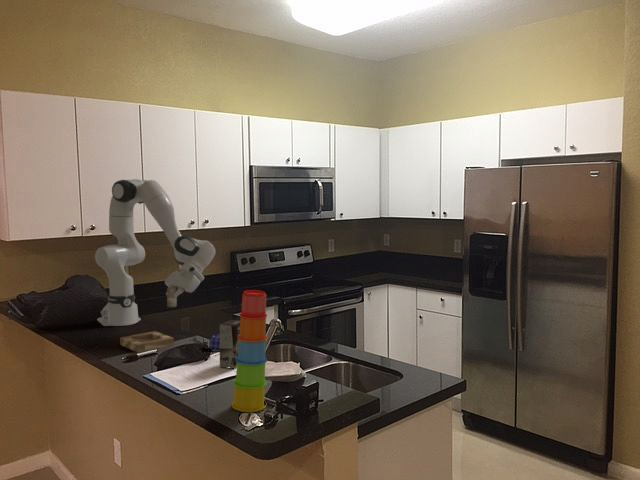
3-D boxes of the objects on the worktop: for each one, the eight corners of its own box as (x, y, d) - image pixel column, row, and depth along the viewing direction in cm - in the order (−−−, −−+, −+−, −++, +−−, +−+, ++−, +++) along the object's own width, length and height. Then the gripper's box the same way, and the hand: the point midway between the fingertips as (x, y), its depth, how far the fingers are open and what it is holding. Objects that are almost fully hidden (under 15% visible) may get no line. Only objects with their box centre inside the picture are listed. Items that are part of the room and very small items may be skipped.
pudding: (238, 346, 224) (238, 334, 224) (222, 354, 213) (222, 341, 213) (214, 343, 229) (214, 331, 229) (197, 350, 218) (197, 337, 218)
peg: (165, 306, 234) (165, 288, 234) (173, 305, 237) (173, 287, 236) (170, 307, 231) (169, 289, 231) (178, 306, 234) (178, 288, 234)
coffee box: (234, 369, 193) (234, 325, 192) (219, 367, 195) (218, 324, 194) (246, 362, 202) (246, 320, 201) (231, 360, 204) (230, 318, 203)
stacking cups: (250, 397, 166) (250, 287, 164) (273, 405, 160) (273, 291, 157) (224, 406, 159) (224, 291, 156) (247, 416, 152) (247, 295, 149)
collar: (120, 344, 225) (120, 337, 225) (155, 337, 236) (155, 331, 236) (138, 352, 213) (137, 345, 213) (174, 345, 225) (173, 338, 225)
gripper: (173, 265, 245) (154, 288, 239) (197, 269, 231) (177, 294, 225) (182, 273, 249) (163, 297, 243) (206, 278, 234) (187, 303, 228)
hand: (170, 296), depth 233 cm, fingers closed on peg, 4 cm apart
